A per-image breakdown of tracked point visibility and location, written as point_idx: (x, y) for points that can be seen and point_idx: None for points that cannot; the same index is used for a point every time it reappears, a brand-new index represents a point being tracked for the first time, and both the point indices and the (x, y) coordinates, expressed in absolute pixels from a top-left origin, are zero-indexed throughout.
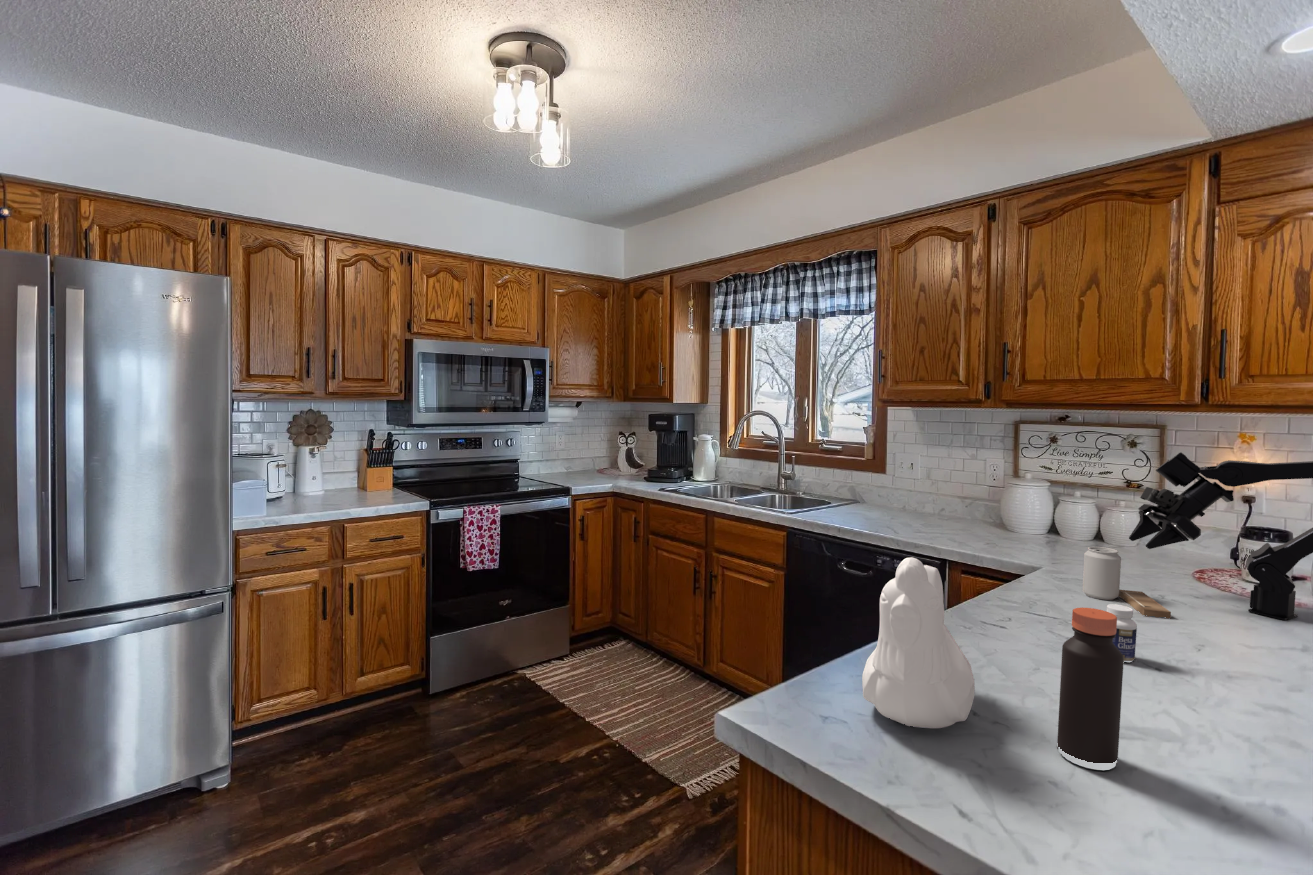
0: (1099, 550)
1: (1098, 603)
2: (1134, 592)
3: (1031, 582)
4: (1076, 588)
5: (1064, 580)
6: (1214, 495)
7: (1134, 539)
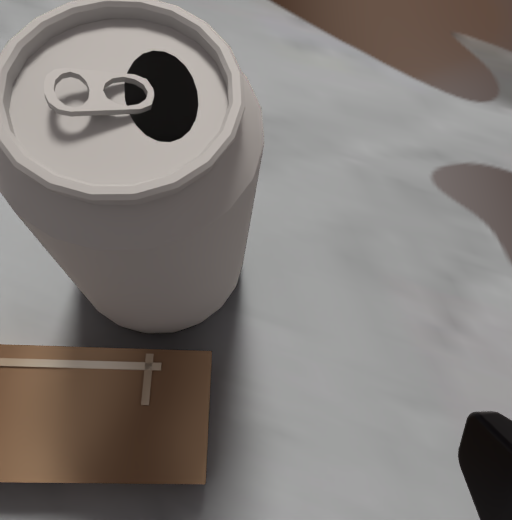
0: (134, 77)
1: None
2: (168, 424)
3: (313, 51)
4: (281, 198)
5: (419, 191)
6: None
7: (476, 489)
